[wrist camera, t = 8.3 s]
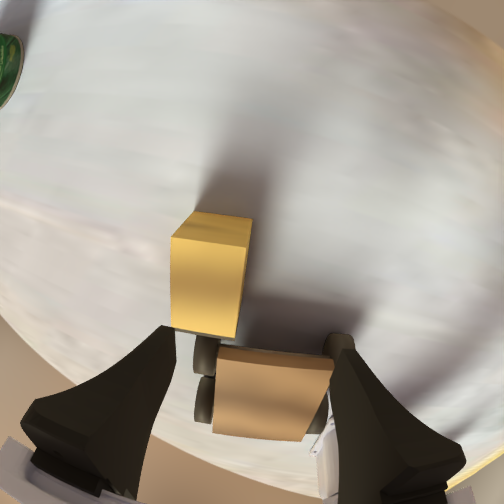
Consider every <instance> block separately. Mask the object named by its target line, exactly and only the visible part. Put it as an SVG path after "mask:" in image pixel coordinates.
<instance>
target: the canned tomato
mask: <svg viewBox="0 0 504 504" xmlns="http://www.w3.org/2000/svg"><path fill="white" fill-rule="evenodd" d="M23 59H24V50H23V44H22V42H21V40H20V38H19V37H18V36H15V35H7V34H2V33H0V109H2V108H3V107H4V106H5V104H6V103H7V102H8V100H9V99H10V98H11V96H12V94H13V92H14V90H15V88H16V86H17V83H18V81H19V78H20V75H21V71H22V66H23Z"/></svg>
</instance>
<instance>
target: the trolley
mask: <svg viewBox="0 0 504 504" xmlns="http://www.w3.org/2000/svg"><path fill="white" fill-rule="evenodd" d="M220 341H221V339H218V338H212V337H206V336H201V335H197V336H196V341H195V347H194V357H193V370H194V373H198V374H203V375H209V376H214V374H215V370H216V379H212V378H206V377H201V379H200V382H199V386H198V390H197V395H196V401H195V410H194V420H195V422H201V423H206V424H211V422H212V418H213V432H212V433H217V434H223V435H230V436H237V437H246V438H255V439H265V440H278V441H297V442H301V441H302V439H303V437H304V435H305V434H321V433H322V432H323V430H324V428H325V426H326V423H327V418H328V409H329V403H328V396H327V393H326V391H327V389H328V388H330V383H329V380H330V377H331V375H332V372H333V370H334V368H335V365H336V363H337V360H338V358H339V355H340V353H341V350H342V348H343V349H355V343H354V340H353V337H352V336H351V335H349V334H336V333H331V334H330V335H329V336H328V337H327V339H326V342H325V345H324V348H323V352H322V355H313V354H302V353H291V352H281V351H272V350H264V349H256V348H248V347H241V346H234V345H227V344H221V343H220ZM355 350H356V349H355ZM216 366H217V367H216ZM213 413H214V414H213Z"/></svg>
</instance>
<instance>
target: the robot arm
mask: <svg viewBox="0 0 504 504" xmlns="http://www.w3.org/2000/svg"><path fill="white" fill-rule="evenodd" d="M175 365H176V344H175V328H173V327H168V326H163V325H161V326H159V327H158V328H157V329H156V330H155V331H154V332H153V333H152V334H151V335H150V336H149V337H147V338H146V339H145V340H144V341H143V342H142V343H141V344H140V345H138V346H137V347H136V348H135V349H134V350H133V351H131V352H130V353H129V354H128V355H127V356H125V357H124V358H123V359H121V360H120V361H119V362H117V363H116V364H115V365H113V366H112V367H110V368H109V369H107V370H106V371H104V372H102V373H101V374H99V375H98V376H96V377H94V378H92V379H90V380H88V381H86V382H84V383H82V384H80V385H78V386H76V387H73V388H71V389H68V390H66V391H63V392H60V393H57V394H54V395H50V396H47V397H43V398H39V399H35V400H34V401H33V403H32V404H31V406H30V407H29V409H28V411H27V412H26V413H25V415H24V416H23V418H22V420H21V422H20V424H21V427H22V429H23V431H24V432H25V433H26V435H27V436H28V437H29V438H30V440H31V441H32V442H33V443H34V445H35V446H36V447H37V448H36V450H35V452H33V451H32V450H30V449H29V448H28V447H26V446H24V445H23V444H21V443H20V442H18V441H17V440H15V439H13V438H12V437H10V436H8V438H7V440H6V441H5V443H4V445H3V446H2V448H1V450H0V489H2V490H3V491H4V492H6V493H7V494H8V495H10V496H11V497H12V498H14V499H15V500H17V501H18V502H20V503H21V504H145V503H141V502H138V501H136V499H137V493H138V487H139V481H140V476H141V470H142V466H143V461H144V456H145V453H146V448H147V444H148V441H149V437H150V434H151V430H152V427H153V424H154V421H155V418H156V416H157V413H158V411H159V409H160V406H161V404H162V402H163V399H164V397H165V394H166V392H167V390H168V387H169V385H170V382H171V380H172V376H173V373H174V369H175ZM329 383H330V401H331V407H332V412H333V417H332V418H330V419H329V421H328V423H327V424H326V426H325V428H324V430H323V432H322V433H321V435H320V436H319V438H318V440H317V441H316V443H315V444H314V446H313V448H312V449H311V451H310V452H309V456H311V457H316V460H317V475H318V491H319V495H320V497H321V498H322V500H323V504H476V502H475V498H474V495H473V491H472V488H471V486H467V487H464V488H462V489H459V490H456V491H454V492H452V493H449V494H447V495H445V491H444V490H446V489H447V488H448V485H447V482H446V481H448V480H449V479H450V478H452V477H453V476H454V475H455V474H456V473H458V472H459V471H460V470H461V469H462V468H463V467H464V466H465V464H466V458H465V455H464V453H463V450H462V447H461V445H460V444H458V443H456V442H454V441H452V440H450V439H448V438H446V437H444V436H442V435H440V434H439V433H437V432H435V431H434V430H432V429H431V428H429V427H428V426H426V425H425V424H424V423H422V422H421V421H420V420H418V419H417V418H416V417H415V416H413V415H412V414H411V413H410V412H409V411H408V410H406V409H405V408H404V407H403V406H402V405H401V404H400V403H399V402H398V401H397V400H396V399H395V398H394V397H393V396H392V395H391V393H390V392H389V391H388V390H387V389H386V388H385V387H384V386H383V384H382V383H381V382H380V381H379V380H378V378H377V377H376V376H375V375H374V373H373V372H372V371H371V369H370V368H369V367H368V365H367V364H366V363H365V361H364V360H363V359H362V357H361V356H360V355H359V353H358V352H357V351H356V350H355V349H343V348H342V350H341V353H340V355H339V358H338V360H337V363H336V365H335V368H334V370H333V372H332V375H331V377H330V380H329Z"/></svg>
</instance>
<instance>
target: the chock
mask: <svg viewBox="0 0 504 504" xmlns="http://www.w3.org/2000/svg"><path fill="white" fill-rule="evenodd" d="M252 221H253V219H249V218H242V217H235V216H227V215H220V214H212V213H205V212H197V211H193V213H192V214H191V215H190V216H189V217H188V218H187V219H186V220H185V221H184V223H183V224H182V225H181V226H180V227H179V228H178V229H177V230H176V232H175V233H174V234H173V235H172V236H171V254H170V294H171V327H173V328H175V331H179V332H184V333H190V334H195V335H201V336H206V337H212V338H218V339H224V340H231V341H235V336H236V330H237V325H238V319H239V313H240V308H241V302H242V295H243V287H244V280H245V272H246V265H247V257H248V250H249V243H250V235H251V228H252Z"/></svg>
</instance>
